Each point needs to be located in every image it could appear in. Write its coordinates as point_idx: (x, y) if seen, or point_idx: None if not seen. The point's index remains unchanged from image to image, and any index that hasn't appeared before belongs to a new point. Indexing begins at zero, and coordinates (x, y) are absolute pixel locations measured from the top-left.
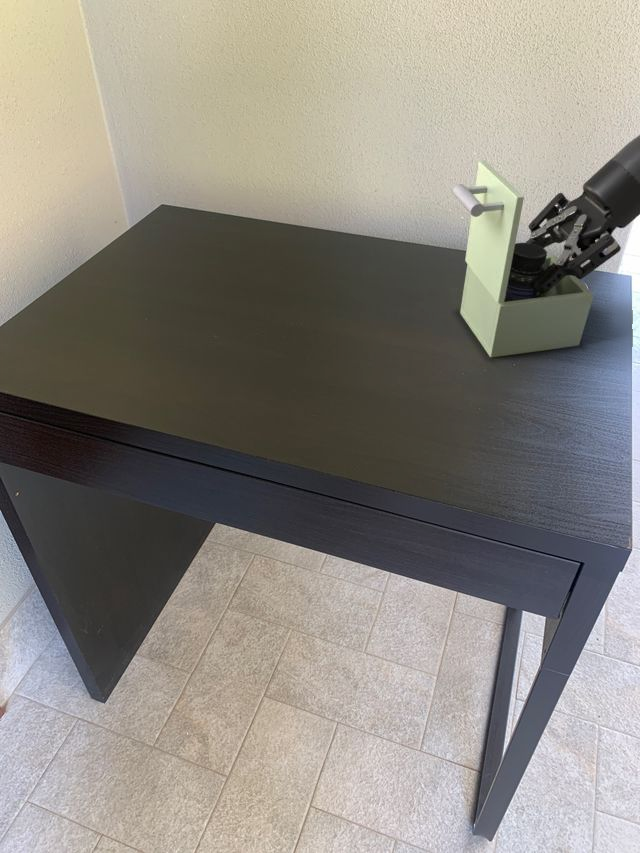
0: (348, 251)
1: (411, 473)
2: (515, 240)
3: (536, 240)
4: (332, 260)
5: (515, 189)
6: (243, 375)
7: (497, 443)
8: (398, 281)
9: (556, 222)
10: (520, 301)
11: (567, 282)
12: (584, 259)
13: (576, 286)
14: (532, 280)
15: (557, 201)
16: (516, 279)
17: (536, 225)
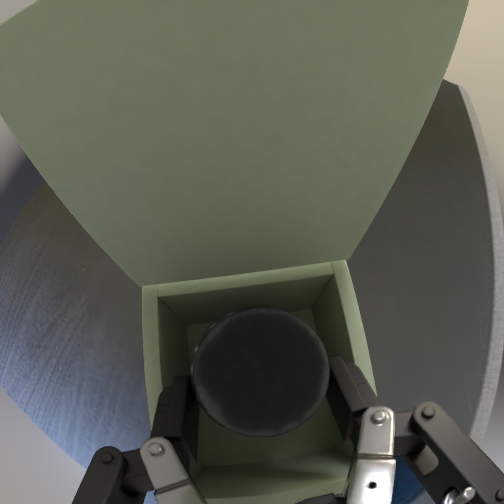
0: (454, 181)
1: (45, 194)
2: (49, 185)
3: (357, 424)
4: (430, 162)
5: (35, 1)
6: None
7: (39, 273)
8: (403, 223)
9: (352, 496)
10: (151, 334)
11: (263, 489)
12: (82, 484)
13: (218, 496)
14: (190, 376)
15: (481, 494)
16: (203, 334)
17: (418, 426)
